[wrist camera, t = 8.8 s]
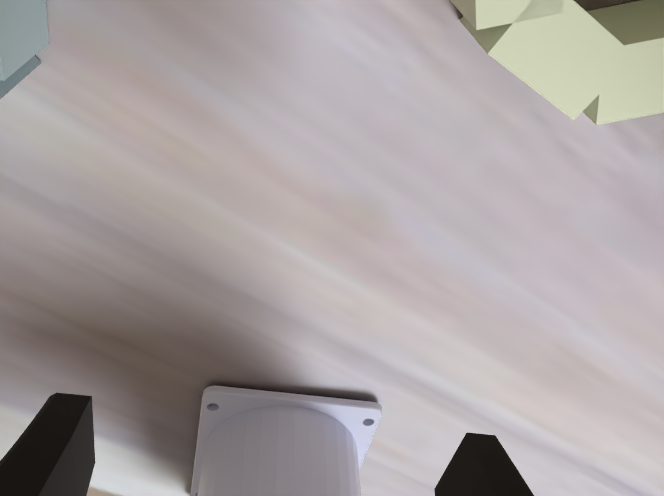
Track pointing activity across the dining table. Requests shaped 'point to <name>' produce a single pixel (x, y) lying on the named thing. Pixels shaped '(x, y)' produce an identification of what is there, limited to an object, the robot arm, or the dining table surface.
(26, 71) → the pale teal ring
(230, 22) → the dining table surface
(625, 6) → the sage bead
